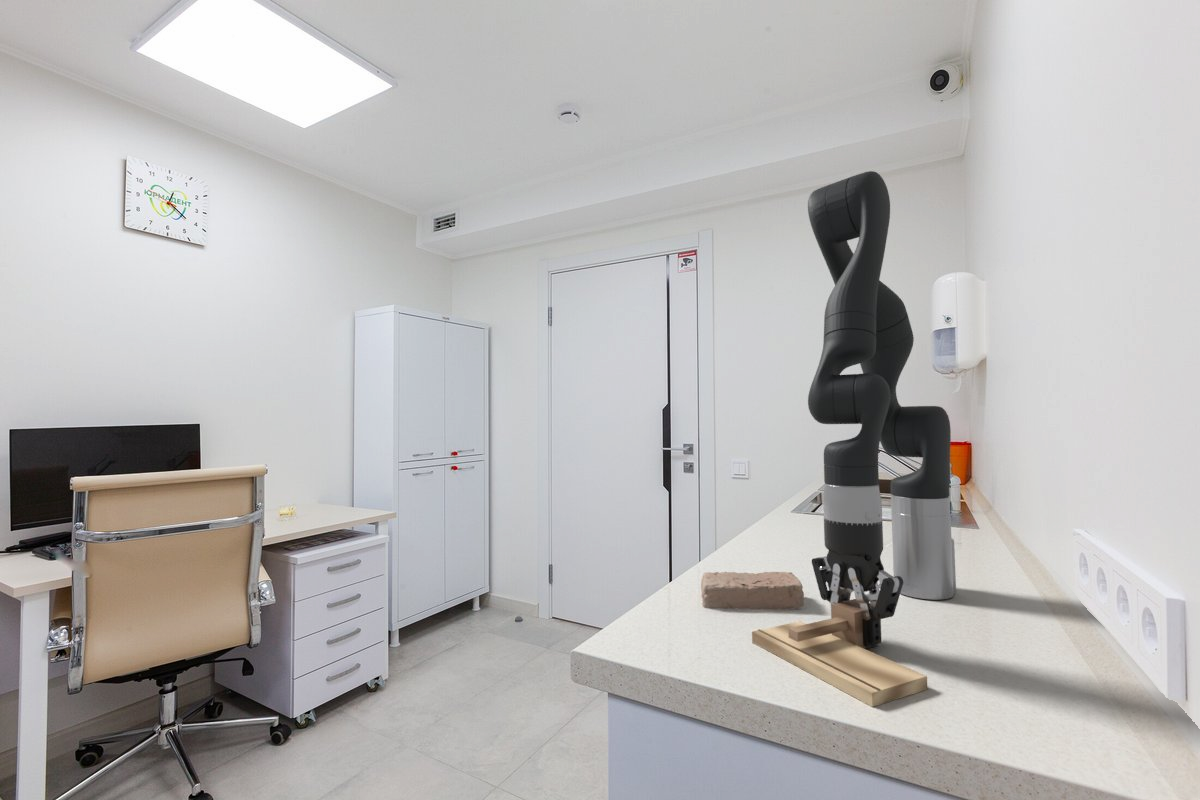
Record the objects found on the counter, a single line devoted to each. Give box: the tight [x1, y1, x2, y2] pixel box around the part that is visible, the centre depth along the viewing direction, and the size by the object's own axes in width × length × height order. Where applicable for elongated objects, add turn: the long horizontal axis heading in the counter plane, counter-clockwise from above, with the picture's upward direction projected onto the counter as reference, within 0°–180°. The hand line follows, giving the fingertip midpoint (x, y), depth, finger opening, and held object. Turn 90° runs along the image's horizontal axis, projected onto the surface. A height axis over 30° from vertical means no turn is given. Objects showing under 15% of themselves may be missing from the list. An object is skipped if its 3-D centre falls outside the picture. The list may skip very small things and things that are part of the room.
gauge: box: [788, 598, 882, 649], centre depth 77 cm, size 15×4×5 cm, turn 115°
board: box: [751, 621, 928, 708], centre depth 73 cm, size 9×20×2 cm, turn 24°
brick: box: [700, 571, 805, 611], centre depth 98 cm, size 17×8×5 cm, turn 83°
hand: (856, 639), depth 79 cm, fingers closed on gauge, 4 cm apart
